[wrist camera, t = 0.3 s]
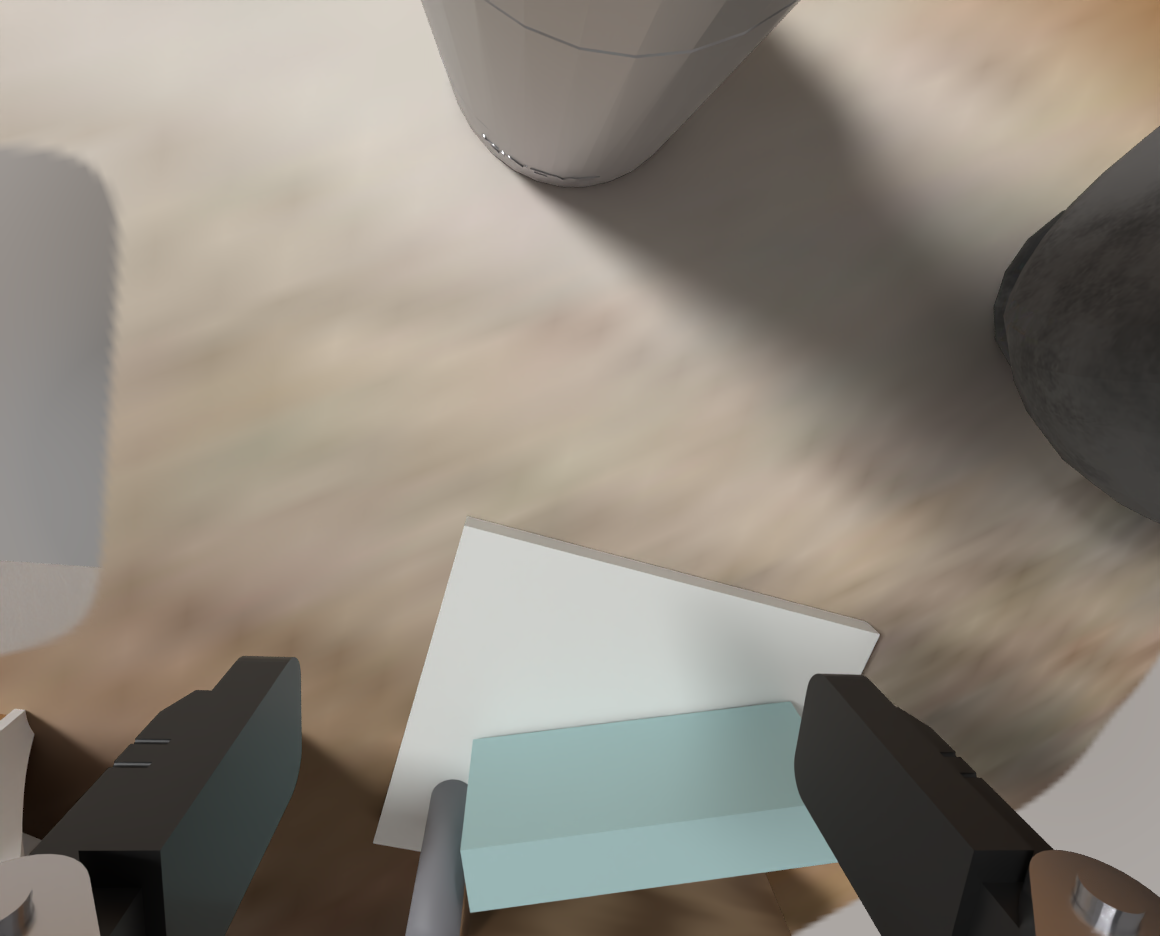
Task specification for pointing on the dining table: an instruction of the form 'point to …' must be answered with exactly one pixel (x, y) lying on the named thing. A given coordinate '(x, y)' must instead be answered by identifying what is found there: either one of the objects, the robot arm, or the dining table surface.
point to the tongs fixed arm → (644, 912)
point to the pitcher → (1094, 329)
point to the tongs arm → (615, 813)
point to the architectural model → (21, 621)
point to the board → (592, 654)
